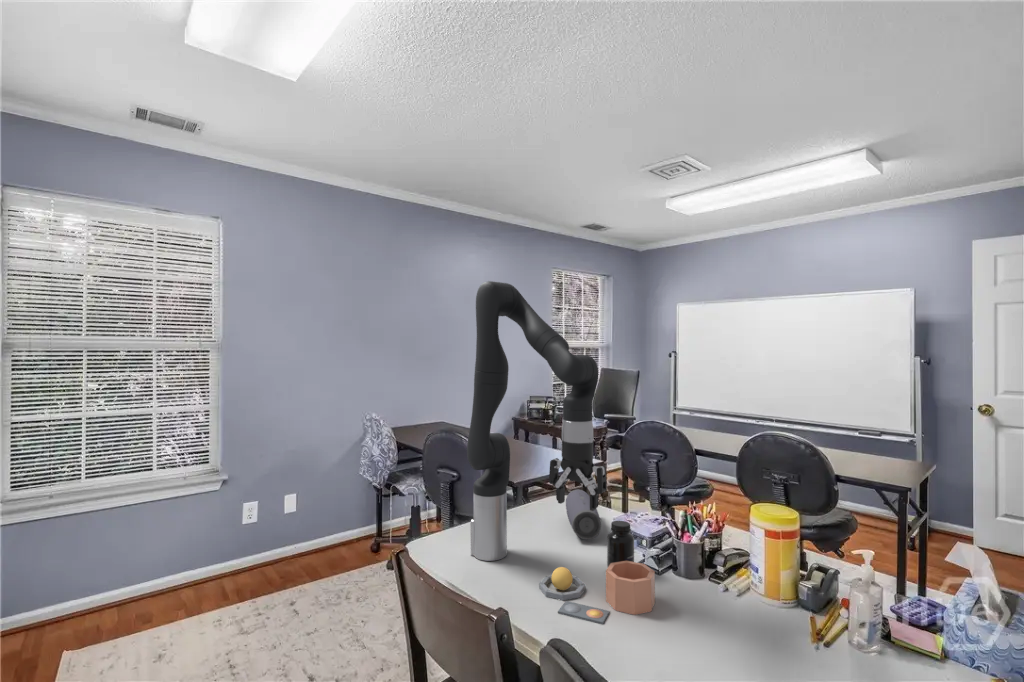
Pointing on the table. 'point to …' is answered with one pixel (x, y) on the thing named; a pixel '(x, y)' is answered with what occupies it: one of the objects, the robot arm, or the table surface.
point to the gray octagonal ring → (558, 594)
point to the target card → (584, 612)
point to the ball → (562, 578)
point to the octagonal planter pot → (630, 587)
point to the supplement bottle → (620, 543)
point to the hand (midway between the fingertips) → (576, 506)
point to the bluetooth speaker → (582, 515)
